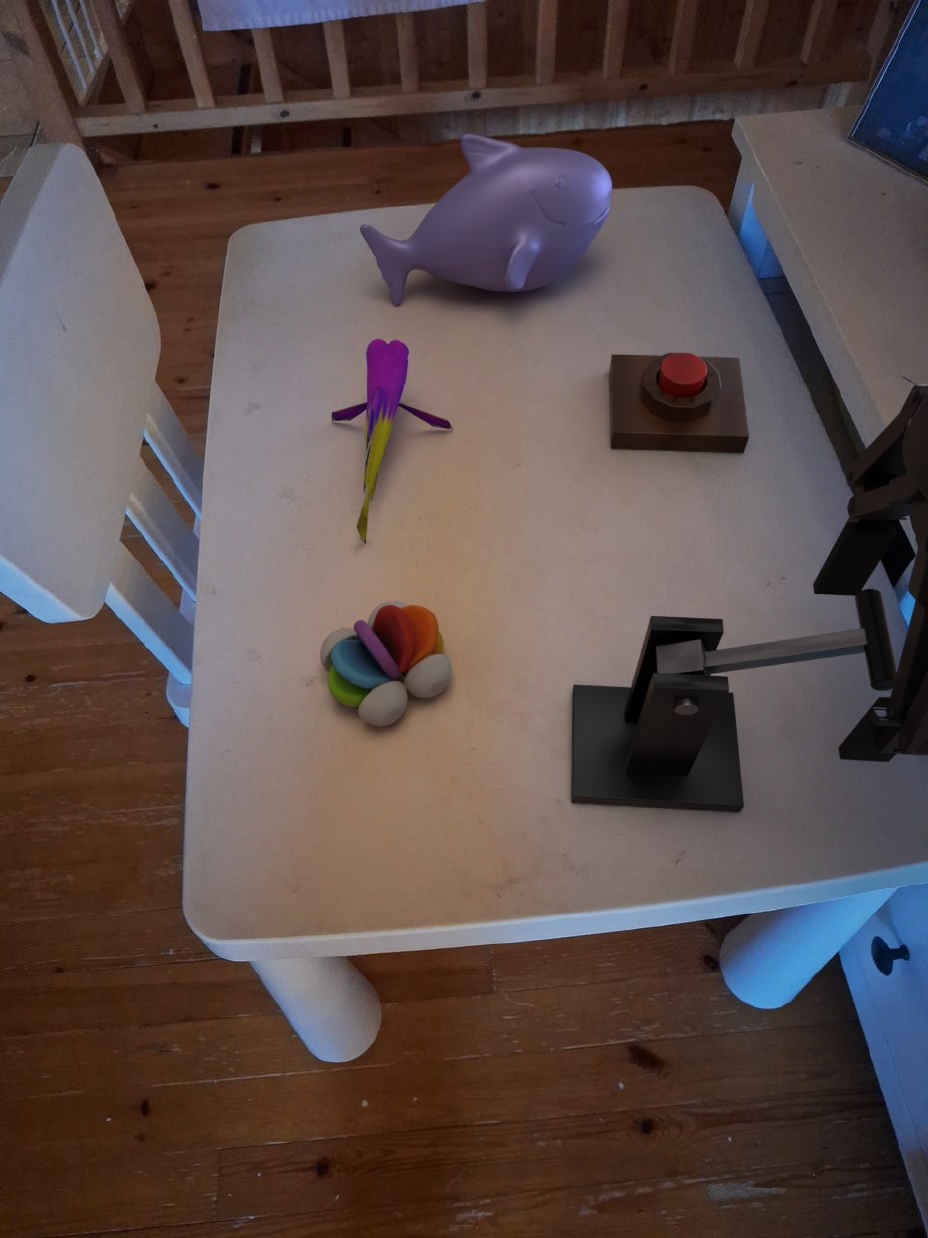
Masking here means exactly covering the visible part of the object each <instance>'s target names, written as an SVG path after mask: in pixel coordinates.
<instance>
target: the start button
mask: <svg viewBox="0 0 928 1238" xmlns="http://www.w3.org/2000/svg"><path fill="white" fill-rule="evenodd" d="M673 353H674V354H672V355H669V356H668V357H666V358H665V359H664V361H663V362H662V366H661V371H660V375H659V385H660V387H661V389H662V390H663V391H664V392H665V393H667V394H669V395H671V396H674V397H684V398H690V397H693V396H695V395H697V394H698V393H699V392H700V391H701V390H702V388H703V385H704V381H705V377H706V373H707V367H706V364H705V363H704V361H703V360H702V359H701V358H699V357H700V356H698V355H695V354H693V353H691V354H690V352H673Z"/></svg>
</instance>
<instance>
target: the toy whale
mask: <svg viewBox="0 0 928 1238" xmlns="http://www.w3.org/2000/svg"><path fill="white" fill-rule="evenodd" d="M460 147H461V152H462V155H463V156H464V158H465V160H466V163H467V166H468V170H469V172H468V174H467V175H465V176H464V177H463V178H462V179H460V180H459V181H457V183H456V184H454V185H453V186H452V187H451V188H450V189H449V190H448V191H447V192H446V193H445V194H444V195H443V196H442V197H440V199H439V200H438V201H437V202H436V203H435V204H434V205H433V206H432V207H431V209H430V210H428V212H427V213H426V214H425V216H424V218H423V219H422V220H421V222H420V223H419V224H418V226H417V228H416V229H415V230H414V231H413V233H412V234H411V235H410V236H409V237H408V238H407V239H403V240H400V239H395V238H391V237H389V236H386V235H384V234H382V233H381V232H380V231H378V230H377V229H376V228H374V227H373V226H371V225H369V224H361V225H360V227H359V231H360V234H361V236H362V237H363V239H364V241H365V242H366V244H367V245H368V247H369V249H370V251H371V253H372V254H373V256H374V257H375V261H376V266H377V268H378V269H379V270H380V273H381V277H382V280H384V282H385V283H386V285H387V288H388V292H389V295H390V299H391V302H392V305H394V306H396V307H397V306H400V304H401V303H402V301H403V298H404V294H405V290H406V289H405V288H406V285H407V281H408V277H409V275H410V273H411V272H412V271H414V270H417V271H422V272H425V273H428V274H430V275H432V276H436V277H438V278H439V279H442V280H445V281H448V282H451V283H456V284H460V285H466V286H470V287H473V288H478V289H480V290H483V291H490V292H501V293H504V292H505V293H518V292H527V291H529V292H530V291H534V290H537V289H540V288H543V287H545V286H548V285H550V284H552V283H554V282H555V281H557V280H559V279H560V278H561V277H562V276H563V275H565V274H566V273H567V272H569V271H570V270H571V269H572V268H573V267H574V266H575V264H577V262H578V261H579V260H580V259H581V258H582V257H583V255H584V254H585V253H586V251H587V250H588V248H589V247H590V245H591V243H592V242H593V240H594V239H595V237H596V235H598V233H599V232H600V230H601V229H602V227H603V225H604V223H605V222H606V220H607V218H608V216H609V213H610V210H611V205H610V204H611V196H612V191H613V181H612V178H611V175H610V173H609V171H608V170H607V168H606V167H605V166H604V165H603V164H602V163H601V162H600V161H599V160H597V159H595V158H594V157H592V156H590V155H589V154H587V153H583V152H581V151H579V150H578V151H577V150H573V149H568V148H559V147H521V146H519V145H518V144H516V143H513V142H510V141H505V140H499V139H495V138H491V137H486V136H482V135H478V134H475V133H464V134H463V135H462V136H461V138H460Z"/></svg>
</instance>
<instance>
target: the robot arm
mask: <svg viewBox="0 0 928 1238" xmlns="http://www.w3.org/2000/svg"><path fill="white" fill-rule="evenodd" d="M905 399H906V400H905V401H904V403H903V405H902V407H901V409H900V411H899V413H898V414H897V415H896V416H895V417H894V418H893V420H891V421H890V423H889V424H888V425H886V427H885V428H884V429H883V430H882V431H881V432H880V433H879V434H878V436H876V437H875V438H874V440H873V441H872V442H870V444H869V445H868V447H866V448H865V449H864V450H863V452H862V453H860V455H859V456H858V457H857V458H856V459H855V460H854V462H852V463H851V464H850V466H849V467H848V469H847V471H846V475H845V479H846V484H847V486H848V487H851V488H852V487H853V488H855V495H853V496H851V497H850V499H849V500H848V504H847V506H846V508H847V515H848V518H847V520H846V522H845V524H844V525H843V528H842V529H841V531H840V533H839V535H838V536H837V539H836V540H835V542H834V545H833V547H832V548H831V550H830V552H829V554H828V556H827V557H826V559H825V561H824V563H823V565H822V567H821V569H820V570H819V572H818V574H817V576H816V578H815V580H814V581H813V583H812V587H813V594H814V595H827V596H850V597H855V595H856V594H857V593H858V592H859V591H861V590H864V587H865V585H866V584H867V583H868V582H869V579H870V578H871V576H872V574H873V573H874V571H875V570H876V568H877V567H878V565H879V563H880V562H881V560H882V558H883V557H884V556H885V554H886V552H887V551H888V549H889V548H890V546H891V544H892V542H893V541H894V540H895V538H896V536H897V530H896V525H895V523H885V521H886V520H897V521H898V520H899V521H901V520H902V521H908V517H909V521H910V525H911V530H912V532H913V533H914V536H915V538H914V539H915V542H916V545H917V550H916V554H915V559H914V561H913V566H912V570H911V573H910V577H909V582H908V585H907V591H908V593H909V595H910V596H911V597H912V598H913V600H914V605H913V608H912V613H911V616H910V620H909V624H908V626H907V631H906V635H905V639H904V643H903V646H902V650H901V655H900V659H899V661H898V666H897V668H896V670H897V673H896V677H895V681H894V685H893V688H892V689H891V691H890V692H891V693H890V696H878V697H877V699H876V700H875V701H874V702H873V704H872V705H871V706H870V707H869V709H868V710H866V712H865V714H864V715H863V716H862V717H861V718H860V720H859V721H858V722H857V724H855V726H854V727H853V728H852V730H851V731H850V732H849V733H848V735H847V736H846V737H845V738H844V739H843V741H842V742H841V743H840V745H839V746H837V748H838V755H839V760H840V761H841V760H843V761H859V762H862V761H863V762H877V763H890V761H892V759H894V757H895V756H896V755H897V754H899V755H904V756H924V757H925V756H926V757H928V384H914V385H913V386H912V387H911V390H910V391H909V393H908V395H907V397H906V398H905Z"/></svg>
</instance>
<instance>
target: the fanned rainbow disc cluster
mask: <svg viewBox="0 0 928 1238" xmlns="http://www.w3.org/2000/svg"><path fill="white" fill-rule="evenodd" d="M439 630H440V629H439V623H438V619H437V617H436V615H435V613H433V611H431V610H430V609H428V608H426V607H425V606H421V605H418V604H412V605H408V604H406V603H404V602H401V601H398V600H389V601H385V602H382V603H380V604H379V605H377V606H376V607H375V608H374V609H373V610H372V611H371V613H370V615H369V616H368V620H367V621H366V620H364V619H359V620H357V621H355V622H354V624H353V628H352V627H344V628H339V629H336V630H333V631H332V632H331V633H329V634H328V635H327V636H326V637H325V639H324V641H323V642H322V644H321V647H320V653H319V654H320V662H321V664H322V667H323V668H324V669H325V671H328V674H327V675H328V677H327V685H328V690H329V692H330V694H331V696H332V698H334V700H336V701H337V702H338V703H340V704H342V705H344V706H348V707H352V708H358V711H357V714H358V716H359V717H360V719H361V720H363V721H364V722H365V723H367V724H369V725H371V726H375V727H382V726H383V727H385V726H388V725H391V724H393V723H395V722H397V721H398V720H399V719H400V718H401V717H403V714H404V712H405V711H406V709H407V705H408V699H409V698H408V697H409V696H408V693H409V694H411V695H412V696H414V697H416V698H417V697H418V698H422V699H428V698H429V699H430V698H433V697H437V696H438V695H439V694H442V692H443V691H445V690H446V688H447V687H448V686H449V684H450V682H451V680H452V679H451V678H452V674H453V668H452V667H453V666H452V663H451V660H450V658H449V657H448V656H447V655H446V654H444V653H443V652H444V646H445V645H444V644H445V643H444V638H443V635H442V633H441V631H439ZM400 677H402V678H403V682H401V681H399V680H398V679H399V678H400Z"/></svg>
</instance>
